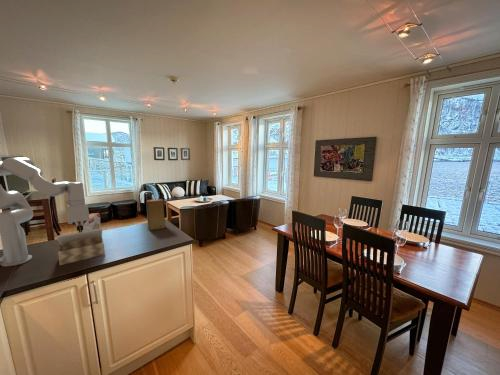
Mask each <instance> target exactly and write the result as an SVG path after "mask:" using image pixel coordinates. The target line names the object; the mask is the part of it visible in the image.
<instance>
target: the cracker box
mask: <svg viewBox="0 0 500 375" xmlns="http://www.w3.org/2000/svg"><path fill="white" fill-rule="evenodd" d="M89 218H90V221H88V222H85V223H84V224H83V230H82V232H83V231H89V230H95V229H101V228H102V226H101V213H99V212H97V213H96V212H95V213H93V212H92V213H89ZM79 222H80V223H79V224H81V221H79ZM95 238H96V237H95ZM90 239H91V238H90Z"/></svg>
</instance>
